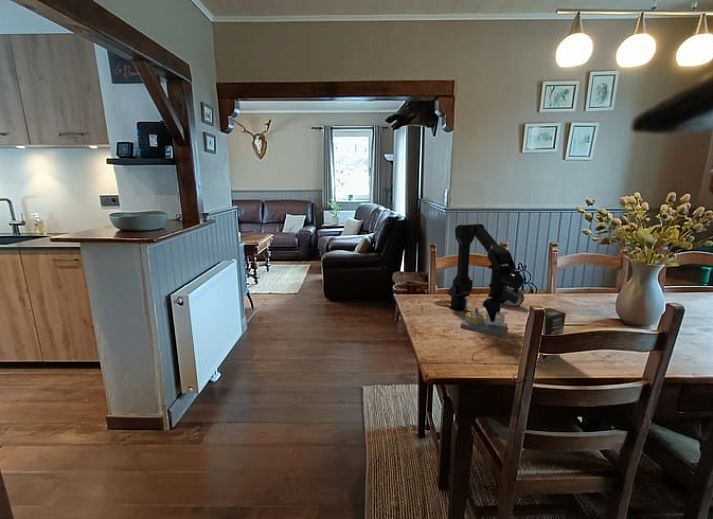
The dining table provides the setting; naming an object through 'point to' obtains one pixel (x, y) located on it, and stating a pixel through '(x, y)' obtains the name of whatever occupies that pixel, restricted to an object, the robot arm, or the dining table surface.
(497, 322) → the loose gear
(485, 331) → the gear board
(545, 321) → the coffee box
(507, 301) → the tin
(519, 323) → the dining table surface
